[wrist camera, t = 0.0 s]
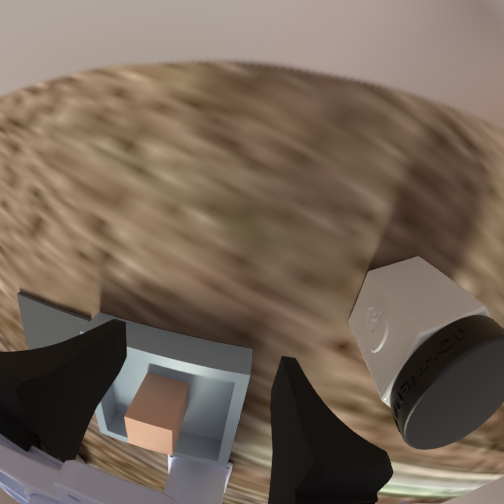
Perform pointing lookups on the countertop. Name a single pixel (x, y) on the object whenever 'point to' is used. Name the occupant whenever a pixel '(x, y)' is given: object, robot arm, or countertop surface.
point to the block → (157, 413)
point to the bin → (185, 370)
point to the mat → (48, 322)
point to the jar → (429, 352)
